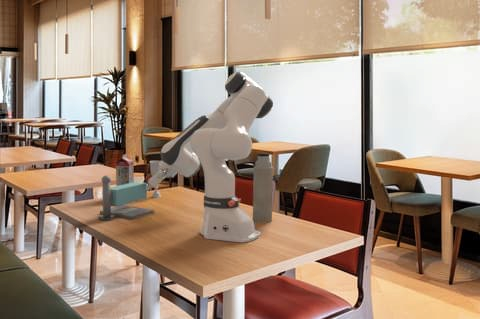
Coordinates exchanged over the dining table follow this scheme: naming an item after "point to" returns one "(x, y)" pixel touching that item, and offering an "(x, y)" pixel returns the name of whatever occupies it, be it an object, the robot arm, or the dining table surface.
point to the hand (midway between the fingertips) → (146, 189)
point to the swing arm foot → (106, 218)
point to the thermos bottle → (262, 189)
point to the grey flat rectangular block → (129, 212)
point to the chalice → (154, 170)
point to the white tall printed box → (124, 171)
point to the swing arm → (121, 194)
